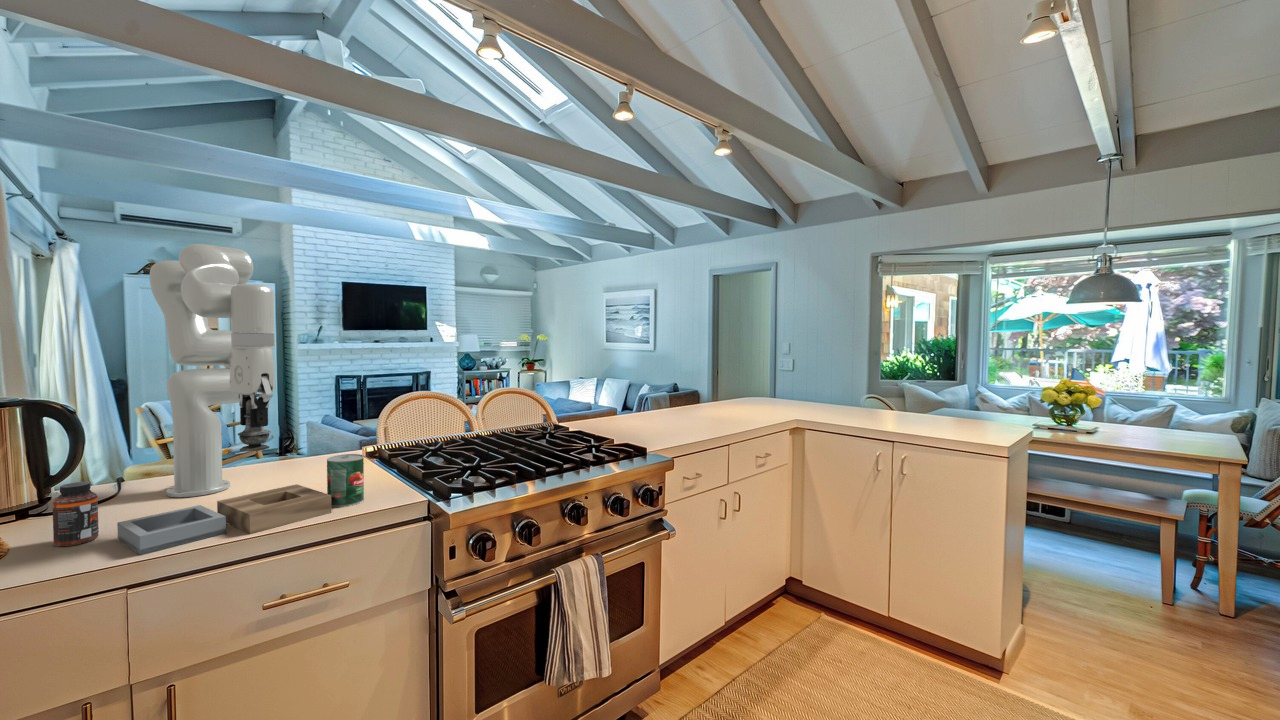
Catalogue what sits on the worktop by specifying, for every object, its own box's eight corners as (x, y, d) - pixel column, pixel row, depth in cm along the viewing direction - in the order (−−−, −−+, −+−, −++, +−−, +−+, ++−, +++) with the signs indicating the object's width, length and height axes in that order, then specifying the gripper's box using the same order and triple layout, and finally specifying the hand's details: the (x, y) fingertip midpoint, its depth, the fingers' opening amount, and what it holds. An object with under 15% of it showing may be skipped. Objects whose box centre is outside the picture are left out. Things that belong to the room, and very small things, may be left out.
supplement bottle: (99, 541, 101) (98, 483, 100) (53, 550, 96) (51, 490, 96) (98, 533, 105) (96, 478, 104) (53, 541, 100) (51, 484, 100)
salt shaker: (253, 452, 110) (253, 396, 109) (230, 450, 111) (229, 395, 110) (277, 446, 116) (277, 393, 115) (255, 445, 117) (254, 392, 116)
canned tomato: (365, 503, 125) (365, 458, 125) (327, 509, 121) (327, 462, 121) (362, 495, 132) (362, 452, 132) (326, 500, 128) (326, 456, 127)
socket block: (217, 518, 114) (217, 500, 114) (296, 500, 127) (296, 484, 127) (250, 534, 105) (249, 514, 105) (331, 512, 119) (331, 495, 119)
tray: (117, 540, 101) (117, 522, 101) (200, 520, 112) (200, 505, 112) (140, 555, 95) (139, 536, 94) (226, 533, 106) (225, 516, 105)
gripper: (215, 340, 113) (216, 424, 114) (251, 342, 105) (252, 432, 106) (254, 341, 120) (255, 419, 120) (291, 342, 111) (292, 427, 112)
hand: (254, 424), depth 113 cm, fingers closed on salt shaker, 3 cm apart
